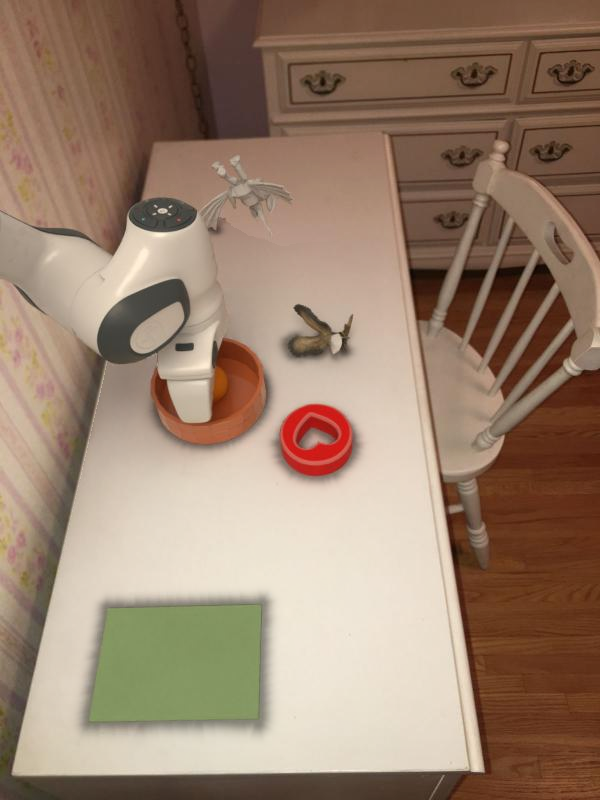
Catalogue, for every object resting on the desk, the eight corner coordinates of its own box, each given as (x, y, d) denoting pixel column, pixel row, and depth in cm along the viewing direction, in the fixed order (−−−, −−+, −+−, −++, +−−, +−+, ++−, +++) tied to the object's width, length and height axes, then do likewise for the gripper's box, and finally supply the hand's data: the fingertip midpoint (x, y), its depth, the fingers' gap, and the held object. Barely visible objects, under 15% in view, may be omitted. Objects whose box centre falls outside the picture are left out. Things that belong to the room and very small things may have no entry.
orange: (207, 419, 90) (199, 394, 85) (184, 395, 93) (176, 370, 88) (238, 397, 92) (233, 372, 87) (215, 374, 95) (209, 348, 90)
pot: (199, 465, 86) (193, 447, 83) (137, 395, 94) (129, 376, 90) (288, 401, 92) (286, 382, 88) (223, 340, 99) (218, 320, 96)
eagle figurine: (350, 318, 99) (293, 306, 99) (356, 310, 92) (294, 297, 92) (341, 366, 99) (283, 354, 98) (345, 362, 92) (283, 349, 91)
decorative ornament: (322, 404, 91) (322, 391, 89) (366, 449, 86) (367, 437, 84) (267, 439, 88) (265, 427, 86) (309, 489, 83) (309, 477, 81)
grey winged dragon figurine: (309, 227, 110) (271, 177, 98) (220, 256, 117) (174, 212, 105) (307, 181, 114) (270, 127, 102) (220, 212, 121) (176, 165, 109)
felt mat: (89, 722, 68) (88, 721, 68) (108, 608, 75) (107, 608, 75) (258, 719, 68) (258, 718, 67) (261, 605, 75) (261, 604, 74)
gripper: (174, 260, 85) (193, 330, 96) (155, 382, 73) (179, 446, 84) (221, 258, 85) (235, 328, 96) (210, 380, 73) (227, 445, 84)
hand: (209, 384), depth 90 cm, fingers open, 8 cm apart
